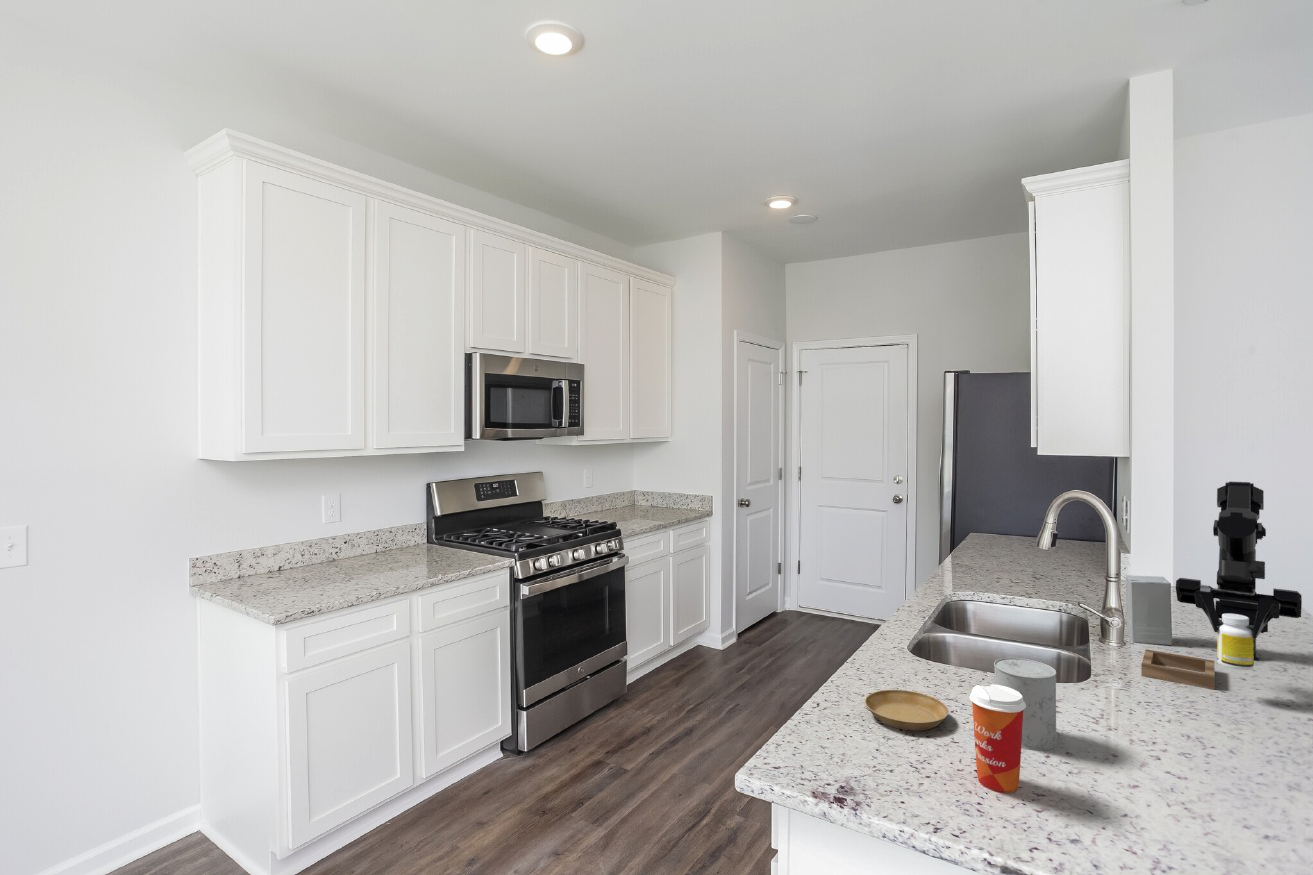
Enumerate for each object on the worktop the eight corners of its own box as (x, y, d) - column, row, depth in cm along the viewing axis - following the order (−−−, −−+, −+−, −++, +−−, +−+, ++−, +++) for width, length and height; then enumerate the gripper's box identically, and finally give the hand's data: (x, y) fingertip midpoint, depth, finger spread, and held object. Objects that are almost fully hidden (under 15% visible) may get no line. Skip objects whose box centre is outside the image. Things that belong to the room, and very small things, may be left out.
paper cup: (960, 771, 104) (959, 683, 104) (1006, 768, 105) (1005, 681, 105) (989, 799, 96) (988, 704, 96) (1038, 795, 97) (1038, 701, 97)
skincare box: (1165, 638, 165) (1165, 575, 164) (1173, 647, 158) (1173, 582, 158) (1124, 634, 168) (1124, 573, 168) (1131, 643, 162) (1130, 579, 161)
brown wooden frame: (1145, 659, 150) (1145, 649, 150) (1214, 672, 143) (1214, 660, 143) (1141, 675, 141) (1141, 664, 141) (1214, 689, 133) (1214, 677, 133)
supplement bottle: (1260, 671, 125) (1260, 620, 125) (1228, 670, 127) (1227, 619, 126) (1242, 661, 131) (1242, 612, 130) (1210, 659, 132) (1210, 611, 132)
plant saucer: (849, 717, 125) (849, 703, 125) (890, 695, 134) (890, 682, 134) (923, 745, 113) (923, 730, 113) (963, 719, 123) (963, 705, 123)
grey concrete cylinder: (1049, 728, 118) (1049, 660, 118) (1063, 753, 109) (1062, 680, 109) (990, 721, 121) (990, 655, 121) (999, 745, 112) (998, 674, 112)
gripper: (1176, 539, 137) (1170, 603, 129) (1301, 549, 124) (1303, 621, 117) (1180, 569, 143) (1175, 632, 135) (1299, 582, 130) (1301, 652, 123)
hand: (1234, 634), depth 127 cm, fingers closed on supplement bottle, 5 cm apart
